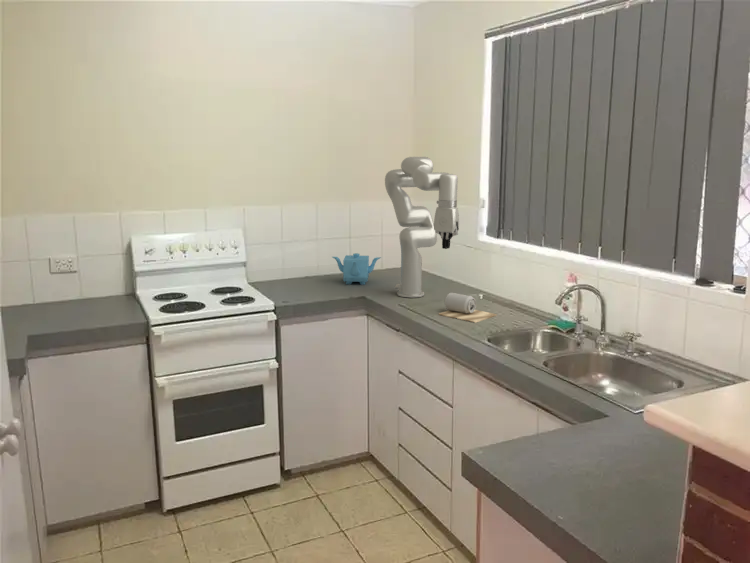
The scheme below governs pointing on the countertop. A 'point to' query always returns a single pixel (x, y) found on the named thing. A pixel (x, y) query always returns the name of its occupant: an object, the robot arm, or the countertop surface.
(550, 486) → the countertop surface
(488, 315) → the mat
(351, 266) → the teakettle
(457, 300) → the can
